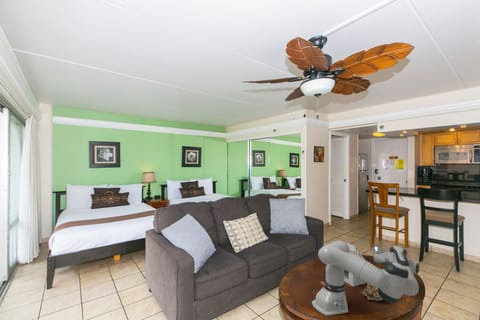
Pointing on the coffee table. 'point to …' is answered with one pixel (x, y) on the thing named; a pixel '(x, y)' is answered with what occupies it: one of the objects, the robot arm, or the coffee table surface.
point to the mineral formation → (372, 293)
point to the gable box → (348, 276)
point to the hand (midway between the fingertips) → (376, 252)
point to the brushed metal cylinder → (377, 251)
